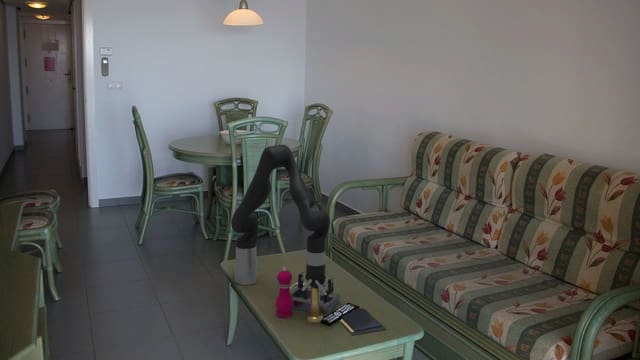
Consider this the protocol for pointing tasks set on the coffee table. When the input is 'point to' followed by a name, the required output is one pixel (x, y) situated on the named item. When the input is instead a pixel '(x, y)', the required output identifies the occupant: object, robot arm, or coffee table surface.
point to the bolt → (315, 307)
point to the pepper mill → (284, 294)
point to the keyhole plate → (306, 304)
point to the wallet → (361, 322)
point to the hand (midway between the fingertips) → (315, 300)
